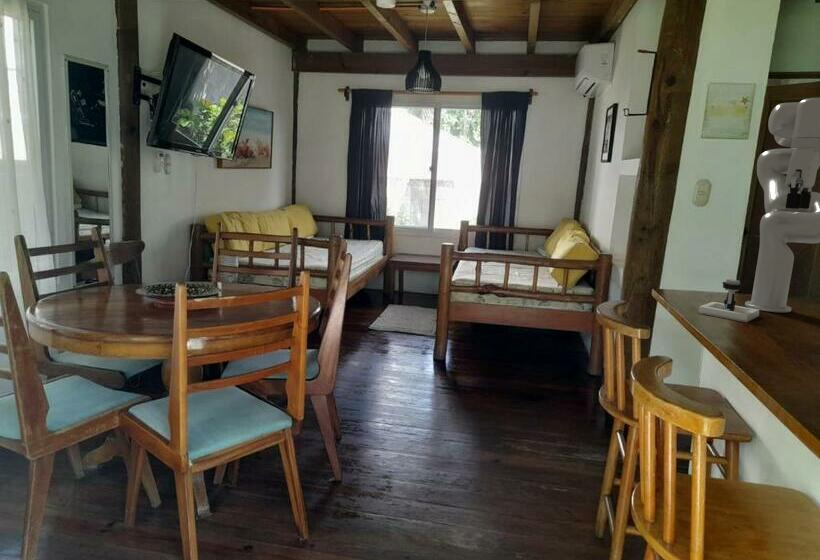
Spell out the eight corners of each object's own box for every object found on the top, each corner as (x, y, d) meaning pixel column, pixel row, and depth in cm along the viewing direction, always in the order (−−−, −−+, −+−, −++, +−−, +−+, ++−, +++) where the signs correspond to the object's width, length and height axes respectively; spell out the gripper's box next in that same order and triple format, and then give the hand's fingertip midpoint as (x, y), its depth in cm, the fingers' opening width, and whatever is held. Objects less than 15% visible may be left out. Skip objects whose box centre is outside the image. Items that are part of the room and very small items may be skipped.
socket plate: (712, 308, 170) (712, 301, 169) (758, 316, 160) (759, 309, 160) (698, 313, 161) (699, 306, 161) (746, 322, 152) (747, 315, 152)
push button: (736, 316, 156) (741, 283, 154) (716, 313, 159) (721, 280, 158) (739, 312, 161) (744, 280, 159) (719, 309, 165) (724, 278, 163)
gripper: (799, 148, 152) (789, 207, 156) (782, 143, 141) (772, 207, 144) (832, 147, 147) (821, 209, 150) (816, 142, 136) (805, 209, 139)
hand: (797, 208), depth 147 cm, fingers open, 9 cm apart
